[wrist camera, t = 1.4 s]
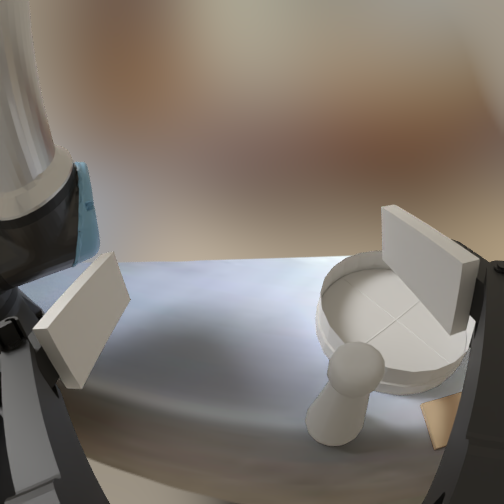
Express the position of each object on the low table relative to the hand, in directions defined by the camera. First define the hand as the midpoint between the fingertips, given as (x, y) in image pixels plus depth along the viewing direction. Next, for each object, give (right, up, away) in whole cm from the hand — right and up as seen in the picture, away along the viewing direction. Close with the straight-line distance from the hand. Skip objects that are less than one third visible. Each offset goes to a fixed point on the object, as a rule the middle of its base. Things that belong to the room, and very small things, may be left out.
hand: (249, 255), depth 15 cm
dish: (+19, -10, +24) cm, 33 cm away
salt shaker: (+8, -18, +13) cm, 24 cm away
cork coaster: (+22, -19, +11) cm, 31 cm away
